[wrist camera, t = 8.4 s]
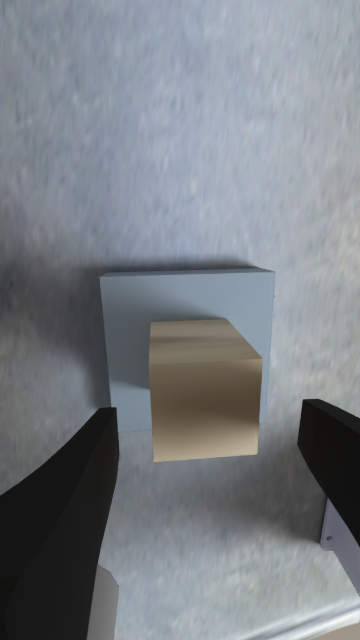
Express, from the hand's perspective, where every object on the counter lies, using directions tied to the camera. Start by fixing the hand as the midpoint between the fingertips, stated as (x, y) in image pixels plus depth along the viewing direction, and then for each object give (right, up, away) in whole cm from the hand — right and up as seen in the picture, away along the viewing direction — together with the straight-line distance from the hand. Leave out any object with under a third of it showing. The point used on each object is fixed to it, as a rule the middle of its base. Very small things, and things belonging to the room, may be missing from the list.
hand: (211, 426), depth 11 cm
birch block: (-1, +2, +7) cm, 7 cm away
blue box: (-1, +3, +10) cm, 10 cm away
